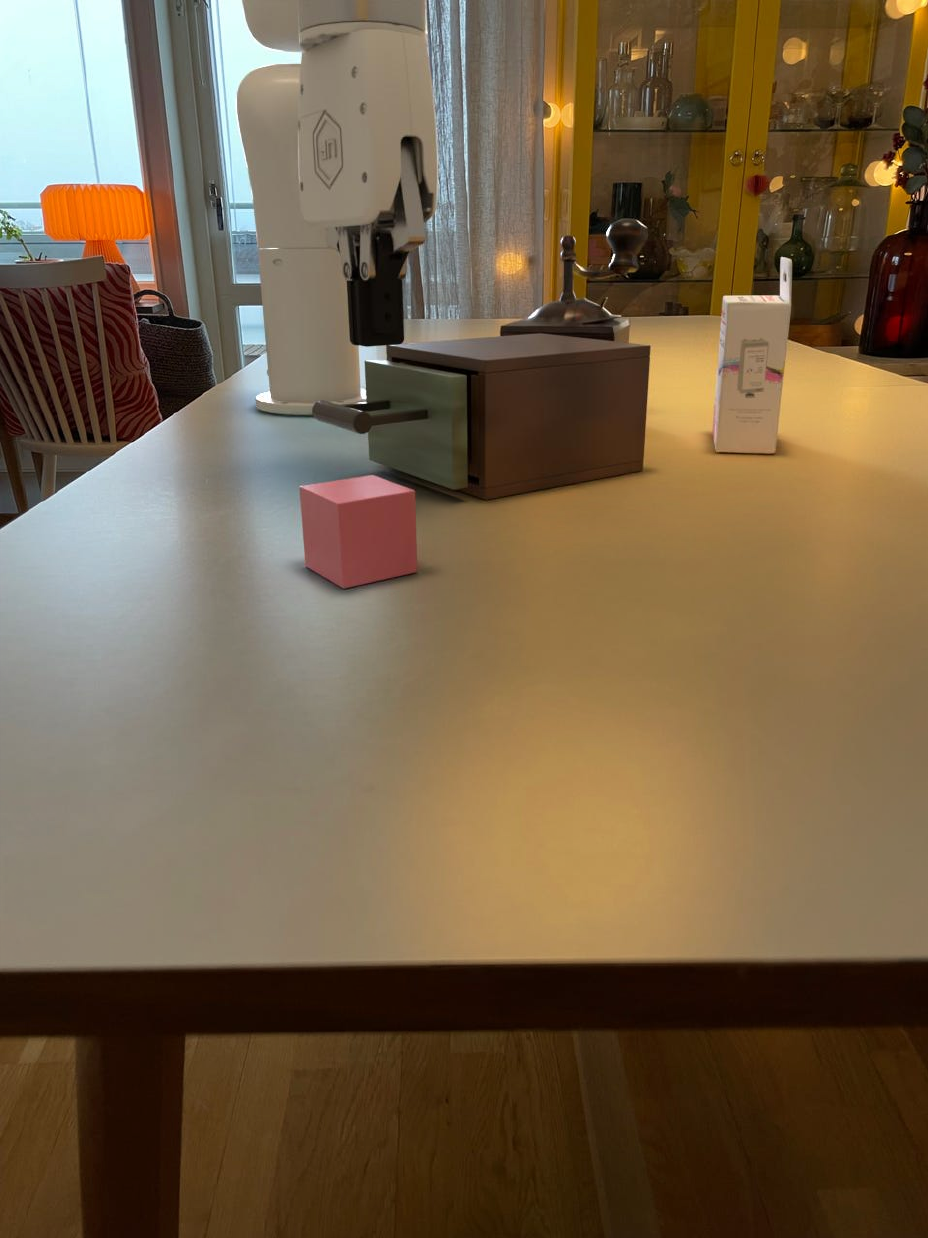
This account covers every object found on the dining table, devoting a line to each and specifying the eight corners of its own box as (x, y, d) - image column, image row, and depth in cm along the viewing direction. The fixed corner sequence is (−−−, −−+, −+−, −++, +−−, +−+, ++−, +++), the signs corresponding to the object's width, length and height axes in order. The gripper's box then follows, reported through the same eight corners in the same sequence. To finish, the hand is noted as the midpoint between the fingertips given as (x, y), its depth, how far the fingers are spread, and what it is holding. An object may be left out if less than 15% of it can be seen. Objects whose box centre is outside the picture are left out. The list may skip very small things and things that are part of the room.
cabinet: (485, 500, 63) (485, 360, 59) (390, 466, 72) (385, 344, 69) (643, 470, 70) (651, 345, 67) (538, 443, 80) (540, 333, 77)
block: (305, 566, 50) (298, 485, 48) (376, 551, 52) (372, 474, 51) (343, 589, 47) (338, 503, 45) (418, 572, 49) (415, 490, 47)
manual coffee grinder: (618, 438, 82) (630, 214, 75) (496, 432, 85) (497, 216, 78) (641, 410, 95) (652, 218, 89) (535, 405, 99) (538, 220, 92)
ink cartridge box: (708, 433, 84) (724, 256, 78) (766, 434, 83) (786, 256, 77) (712, 453, 76) (730, 258, 70) (776, 455, 75) (799, 258, 69)
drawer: (377, 503, 59) (372, 384, 56) (299, 470, 67) (291, 366, 65) (605, 463, 69) (610, 360, 66) (511, 439, 77) (512, 347, 75)
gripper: (252, 35, 58) (277, 340, 65) (369, -21, 47) (384, 357, 54) (358, 47, 62) (371, 334, 69) (490, -1, 51) (490, 349, 58)
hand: (377, 343), depth 61 cm, fingers closed
